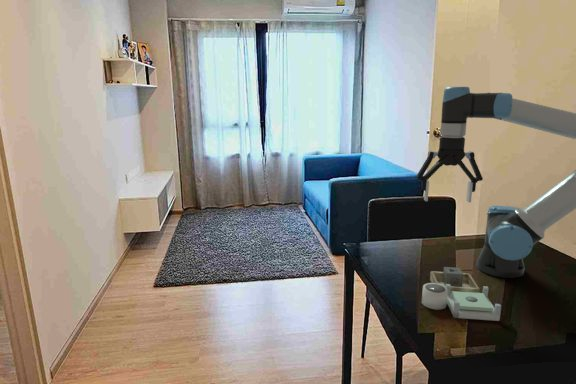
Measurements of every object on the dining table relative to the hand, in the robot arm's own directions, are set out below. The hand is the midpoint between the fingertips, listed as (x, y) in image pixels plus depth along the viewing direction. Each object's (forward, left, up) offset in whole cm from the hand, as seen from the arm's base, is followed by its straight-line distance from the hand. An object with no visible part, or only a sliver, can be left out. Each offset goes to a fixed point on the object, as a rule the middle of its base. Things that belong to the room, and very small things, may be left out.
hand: (447, 200), depth 136 cm
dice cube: (-2, +8, -26) cm, 28 cm away
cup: (+6, +21, -27) cm, 34 cm away
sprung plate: (-4, +22, -25) cm, 33 cm away
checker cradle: (-4, +22, -27) cm, 35 cm away
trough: (-2, +10, -27) cm, 28 cm away
